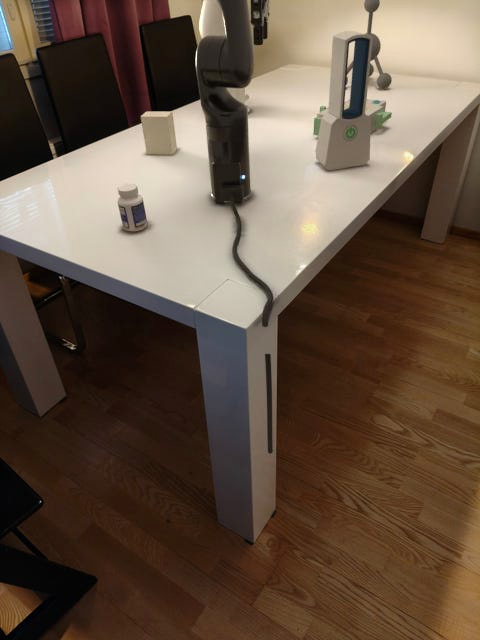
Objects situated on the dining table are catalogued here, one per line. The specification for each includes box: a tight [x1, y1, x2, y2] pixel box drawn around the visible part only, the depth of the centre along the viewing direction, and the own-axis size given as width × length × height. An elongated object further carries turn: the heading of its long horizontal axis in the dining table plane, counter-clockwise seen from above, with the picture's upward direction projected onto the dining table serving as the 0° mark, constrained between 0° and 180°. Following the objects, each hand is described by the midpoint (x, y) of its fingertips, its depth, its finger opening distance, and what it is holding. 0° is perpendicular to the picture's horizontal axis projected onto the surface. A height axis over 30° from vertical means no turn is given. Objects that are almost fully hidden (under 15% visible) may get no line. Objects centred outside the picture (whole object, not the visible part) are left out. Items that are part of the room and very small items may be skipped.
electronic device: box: [315, 30, 373, 171], centre depth 119 cm, size 12×8×30 cm, turn 105°
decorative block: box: [313, 98, 393, 136], centre depth 149 cm, size 26×6×20 cm
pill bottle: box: [117, 182, 148, 232], centre depth 102 cm, size 5×5×9 cm
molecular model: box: [346, 0, 393, 90], centre depth 184 cm, size 24×22×30 cm
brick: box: [140, 111, 178, 156], centre depth 140 cm, size 5×8×11 cm, turn 79°
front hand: (260, 41), depth 118 cm, fingers open, 8 cm apart
